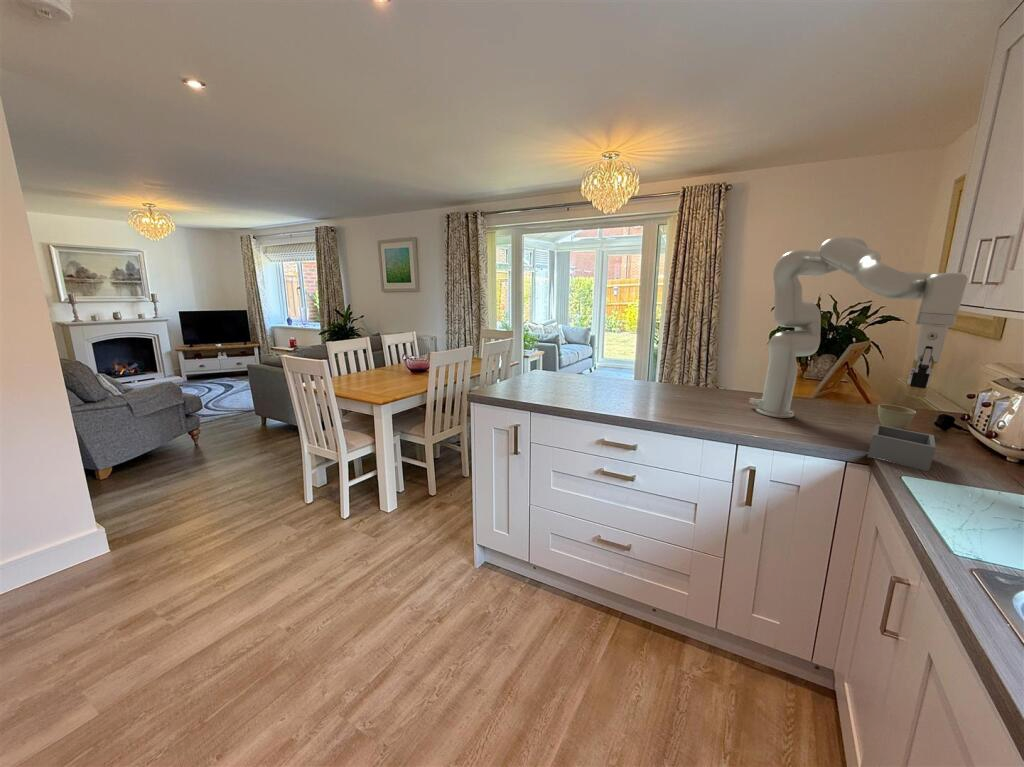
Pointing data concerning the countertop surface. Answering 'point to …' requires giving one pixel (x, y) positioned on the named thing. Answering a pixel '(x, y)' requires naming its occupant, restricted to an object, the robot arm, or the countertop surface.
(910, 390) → the sprinkles bottle
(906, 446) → the bin
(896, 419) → the pale green bowl
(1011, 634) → the countertop surface
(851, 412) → the countertop surface
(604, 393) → the countertop surface
